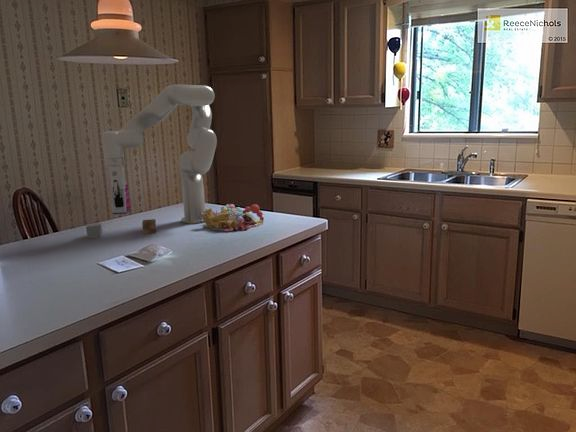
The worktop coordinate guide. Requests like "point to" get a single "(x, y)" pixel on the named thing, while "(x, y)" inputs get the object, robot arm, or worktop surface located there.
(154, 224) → the walnut block
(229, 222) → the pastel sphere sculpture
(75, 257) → the worktop surface
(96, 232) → the slate block
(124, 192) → the supplement box
